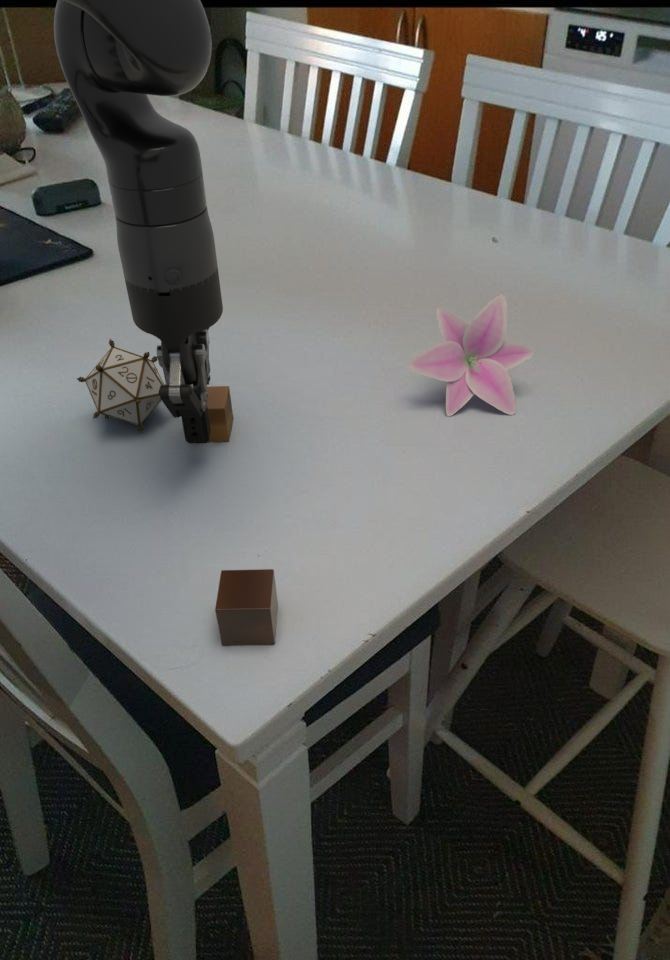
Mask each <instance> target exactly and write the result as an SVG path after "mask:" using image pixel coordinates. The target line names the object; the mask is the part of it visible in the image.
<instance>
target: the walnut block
mask: <svg viewBox="0 0 670 960" xmlns="http://www.w3.org/2000/svg"><path fill="white" fill-rule="evenodd" d="M219 576H220V577H219V582H218V590H217V596H216V602H215V608H214V611H215V617H216V622H217V628H218V632H219V637H220V643H221V645H222V646H254V645H255V646H258V645H259V646H260V645H275V644H276V634H277V622H278V621H277V620H278V607H279V604H278V603H279V602H278V595H277V593H278V592H277V586H276V585H277V584H276V577H275V570H274V569H273V568H271V569H269V568H268V569H267V568H265V569H222V570H220V575H219Z"/></svg>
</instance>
